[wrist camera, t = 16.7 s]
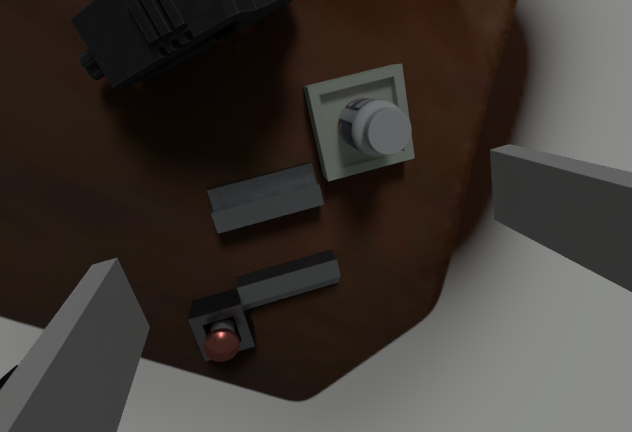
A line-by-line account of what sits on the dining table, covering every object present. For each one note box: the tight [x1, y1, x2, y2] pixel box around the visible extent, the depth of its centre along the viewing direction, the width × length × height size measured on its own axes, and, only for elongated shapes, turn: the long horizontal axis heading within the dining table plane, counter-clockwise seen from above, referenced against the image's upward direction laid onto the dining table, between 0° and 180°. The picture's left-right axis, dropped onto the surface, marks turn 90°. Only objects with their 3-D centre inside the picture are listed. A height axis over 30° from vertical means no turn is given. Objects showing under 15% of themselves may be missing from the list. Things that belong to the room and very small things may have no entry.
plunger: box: [204, 316, 239, 362], centre depth 45 cm, size 4×4×6 cm
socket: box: [207, 162, 341, 309], centre depth 45 cm, size 12×16×3 cm
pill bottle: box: [338, 98, 411, 157], centre depth 38 cm, size 5×5×9 cm
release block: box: [188, 288, 255, 361], centre depth 47 cm, size 6×6×4 cm
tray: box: [303, 64, 414, 181], centre depth 42 cm, size 10×10×3 cm
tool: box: [70, 0, 292, 89], centre depth 34 cm, size 6×19×15 cm, turn 115°
